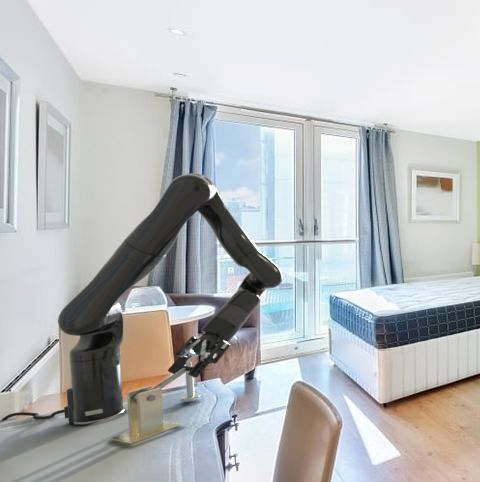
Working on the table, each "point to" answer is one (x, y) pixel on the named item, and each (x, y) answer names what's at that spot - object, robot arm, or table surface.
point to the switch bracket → (144, 416)
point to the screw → (189, 387)
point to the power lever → (170, 378)
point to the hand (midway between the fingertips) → (181, 374)
